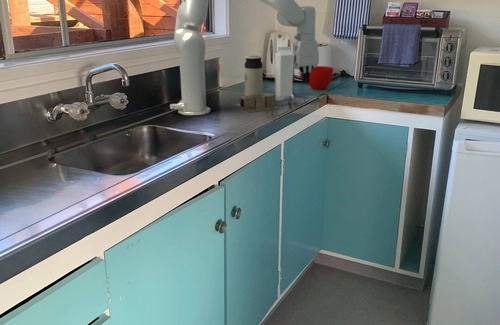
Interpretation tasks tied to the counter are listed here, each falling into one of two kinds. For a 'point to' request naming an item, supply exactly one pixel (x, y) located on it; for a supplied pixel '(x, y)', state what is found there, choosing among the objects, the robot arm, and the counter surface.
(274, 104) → the hinge
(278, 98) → the pin
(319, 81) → the ceramic cup
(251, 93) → the travel mug
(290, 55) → the milk
